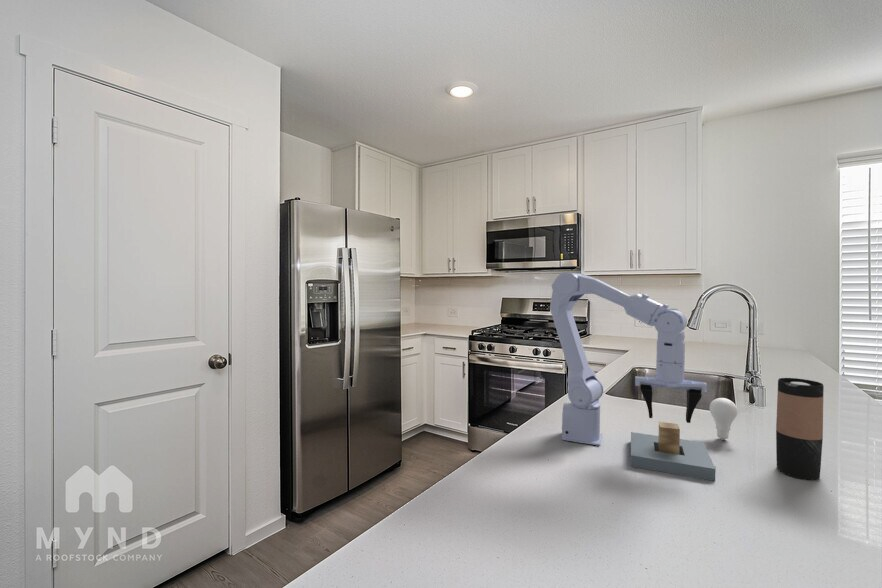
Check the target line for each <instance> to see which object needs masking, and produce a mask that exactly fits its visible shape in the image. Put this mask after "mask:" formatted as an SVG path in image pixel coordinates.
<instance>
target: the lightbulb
mask: <svg viewBox="0 0 882 588" xmlns="http://www.w3.org/2000/svg"><path fill="white" fill-rule="evenodd" d="M738 412H739V411H738V407H737V405H736V404H735V402H733V401H732V400H730V399H728V398H726V397H718V398H715V399H713V400H712V401H710V404H709V413H710V415H711V416H712V417H713V420H714V424H715V428H716V436H717V437H718V438H719V439H720V440H722V441H726V440H727V439H729V435H730V431H731V426H732V424H733V422H734V421H735V420H736V417H737V416H738Z"/></svg>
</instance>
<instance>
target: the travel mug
mask: <svg viewBox="0 0 882 588" xmlns="http://www.w3.org/2000/svg"><path fill="white" fill-rule="evenodd" d="M824 392H825V391H824V384H823V383H821V382H819V381H815V380H810V379H805V378H796V377H794V378H793V377H781V378H778V380H777V400H776V403H777V404H776V421H775V422H776V425H775V427H776V428H775V429H776V430H775V431H776V432H775V433H776V434H775V441H776V443H775V445H776V447H775V449H776V450H775V451H776V469H777V471H778V472H780V473H781V474H783V475H785V476H788V477H790V478H794V479H798V480H802V481H819V479H820V477H821V470H822V469H821V468H822V451H823V450H822V449H823V437H824V436H823V435H824Z"/></svg>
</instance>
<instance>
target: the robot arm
mask: <svg viewBox="0 0 882 588" xmlns="http://www.w3.org/2000/svg"><path fill="white" fill-rule="evenodd" d="M551 290H552V293H551V297H550V299H551V300H550V304H549V309H550V313H551V316H552V319H553V323H554V327H555V329H556V332H557V337H558V338H559V340H558V341H559V343H560V345H561V348H562V353H563V356H564V359H565V363H566V365H567V368H568V375H567V379H566V381H567V384H568V385H567V386H568V387H567V388H568V389H567V396H568V399H569V401H570V402H564V403H563V406H562V418H561V420H562V421H561V440H562V441H569V442H573V443H574V442H575V443H579V444H580V443H581V444H587V445H592V446H601V444H602V438H603V434H602V433H601V404H600V401H599V400H600V398H602V396H603V394H604V386H603V384H602V382H601V381H600V380H599V379H598V377H597V376H596V372H595V371H594V370H593V369H592V368H591V366H590V365H589V361H588V358H587V355H586V353H585V352H586V351H585V350H584V349H585V348H584V345H583V343H582V339H581V337H580V336H581V335H580V333H579V331H578V327H577V325H576V321H575V316H574V313H573V311H572V310H573V308H574V307H575V305H576V303H577V302H578V300H579V299H581V298H582V297H583V296H584V295H589V294H590V295H591V294H592V295H596V296H598V297H601V298H602V299H605V300H608V301H609V302H612V303H613V304H616V305H619V306H621V307H623V309H624V312H625V314H626V315H628V316H629V317H632V318H634V319H636V320H638V321H640V322H642V323H644V324H646V325H647V326H650V327H654V328H655V330H656V331H657V340H656V359H655V360H656V362H655V363H656V366H655V367H656V368H655V369H656V371H655V374H656V375H655V376H636V375H635V378H634V380H635V383H634V384H635V385H634V387H636V386H637V387H640V391H641V394H642V396H643V398H644V401H645V403H646V407H647V411H648V412H647V413H648V418H649V419H653V388H660V389H661V388H662V389H671V390H672V389H673V390H680V391H681V390H683V391H686V410H685V411H686V412H685V421H686V423H687V424H690V423H691V421H692V416H693V414H694V411H695V409H696V407H697V405H698V404H699V402H700V400H701V399H702V397H703V394H702V393H706V394H707V393H708V384H707V382H704V381H703V382H702V381H696V380H689V379H685V352H686V343H685V337H686V336H685V331H684V330H685V329H686V327H687V326H688V325H687V324H688V319H687V317H686V315H685V313H684V312H682V311H680V310H679V309H677V308H669V307H670V305H669V304H667V303H664V304H662V303H660V302H658V301H656V300H653V299H651V298H650V295H649V294H646V293H643V294H640V293H635V294H633V295H629V294H628V293H625V292H624V291H622V290H619V289H618V288H616V287H614V286H612V285H610V284H608V283H607V282H604V281H602V280H600V279H598V278H596V277H594V276H590V275H586V274H584V273H580V272H575V273H574V272H568V271H567V272H561V273H560V274H559V275H557V276H556V278H555V279H554V281H553V283H552V284H551Z"/></svg>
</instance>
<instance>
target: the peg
mask: <svg viewBox="0 0 882 588" xmlns="http://www.w3.org/2000/svg"><path fill="white" fill-rule="evenodd" d="M680 434H681V431H680V425H679V424H678V423H672V422H665V421H658V436H659V440H658V452H665V453H671V454H678V455H679V444H680V439H681V438H680V436H681V435H680Z"/></svg>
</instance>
